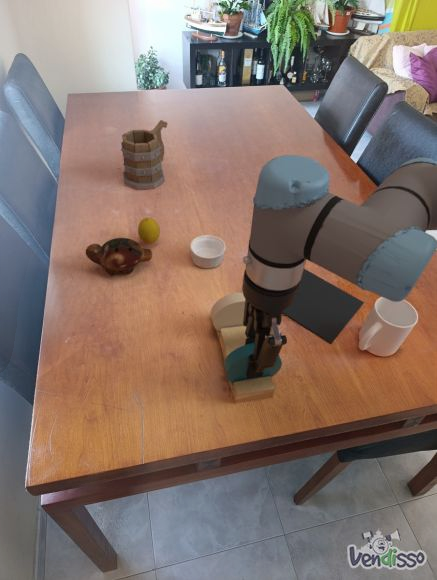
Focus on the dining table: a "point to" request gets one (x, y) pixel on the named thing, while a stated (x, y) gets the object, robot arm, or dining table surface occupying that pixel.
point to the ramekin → (207, 251)
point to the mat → (322, 307)
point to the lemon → (148, 230)
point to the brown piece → (118, 255)
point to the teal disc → (245, 364)
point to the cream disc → (228, 311)
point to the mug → (387, 326)
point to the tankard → (143, 157)
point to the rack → (251, 387)
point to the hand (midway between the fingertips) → (252, 367)
